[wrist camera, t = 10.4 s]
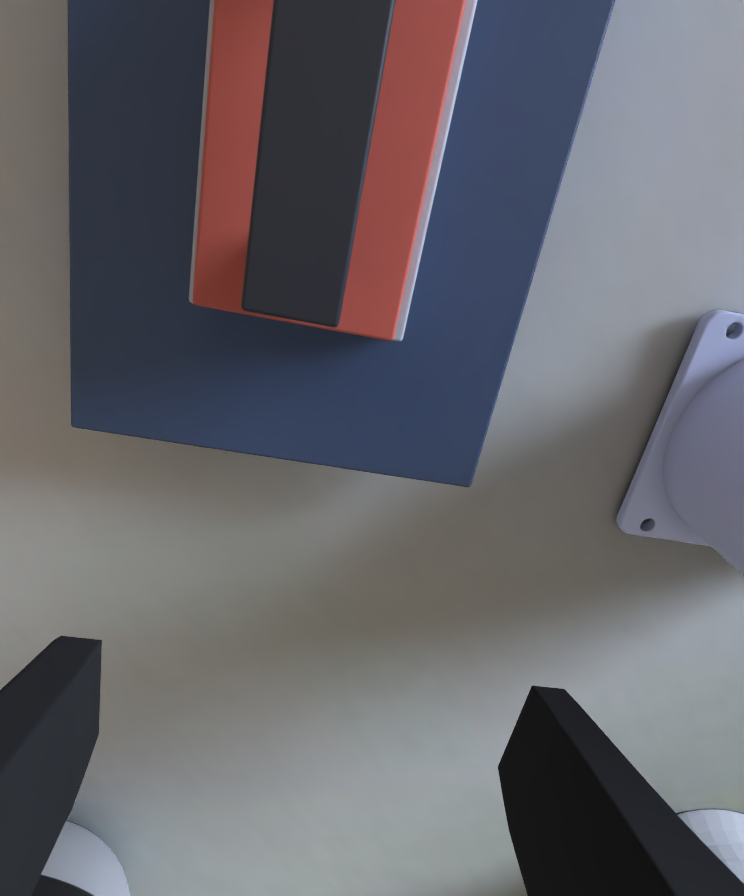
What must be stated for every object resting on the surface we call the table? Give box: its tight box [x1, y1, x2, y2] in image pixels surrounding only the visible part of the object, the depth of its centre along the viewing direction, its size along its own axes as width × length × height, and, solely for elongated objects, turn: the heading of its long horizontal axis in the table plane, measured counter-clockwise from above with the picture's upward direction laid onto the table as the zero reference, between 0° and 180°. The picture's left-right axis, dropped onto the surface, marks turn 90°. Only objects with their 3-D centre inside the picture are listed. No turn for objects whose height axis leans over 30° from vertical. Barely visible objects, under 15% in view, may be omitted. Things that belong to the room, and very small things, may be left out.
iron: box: [189, 0, 478, 341], centre depth 10 cm, size 11×5×6 cm, turn 169°
